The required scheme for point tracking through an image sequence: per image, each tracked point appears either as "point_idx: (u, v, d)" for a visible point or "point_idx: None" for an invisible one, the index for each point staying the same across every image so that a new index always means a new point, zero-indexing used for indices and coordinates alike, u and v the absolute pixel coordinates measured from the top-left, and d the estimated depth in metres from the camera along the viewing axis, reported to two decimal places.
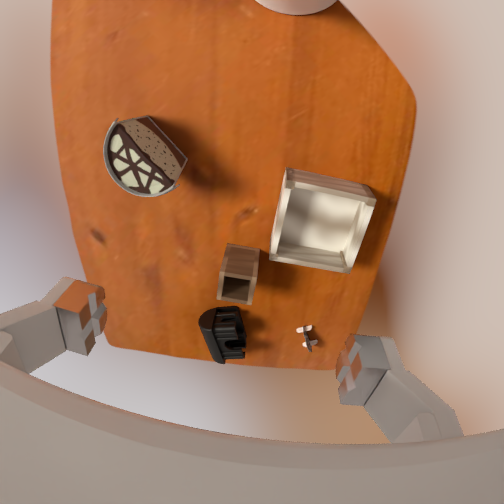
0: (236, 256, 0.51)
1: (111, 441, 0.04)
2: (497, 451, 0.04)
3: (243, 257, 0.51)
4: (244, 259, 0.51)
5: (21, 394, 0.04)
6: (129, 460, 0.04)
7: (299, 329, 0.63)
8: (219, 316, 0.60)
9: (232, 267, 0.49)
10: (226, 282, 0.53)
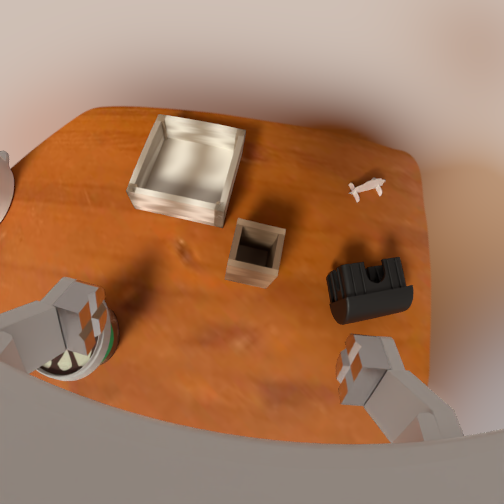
0: None
1: (111, 441, 0.04)
2: (497, 451, 0.04)
3: None
4: None
5: (21, 394, 0.04)
6: (129, 460, 0.04)
7: (356, 198, 0.48)
8: (336, 295, 0.41)
9: None
10: None
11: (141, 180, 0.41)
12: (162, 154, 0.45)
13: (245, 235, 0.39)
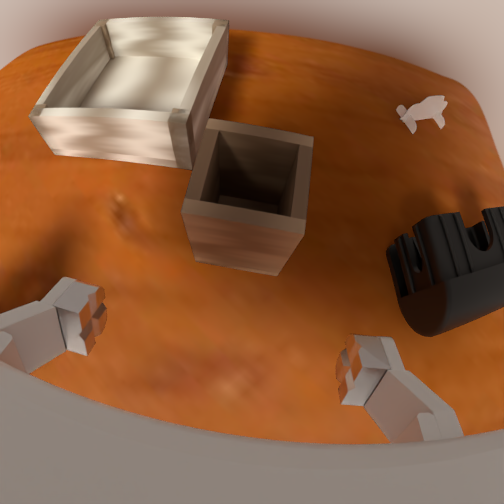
0: None
1: (111, 441, 0.04)
2: (497, 451, 0.04)
3: None
4: None
5: (21, 394, 0.04)
6: (129, 460, 0.04)
7: (411, 127, 0.27)
8: (412, 280, 0.20)
9: None
10: None
11: (61, 104, 0.21)
12: (103, 76, 0.25)
13: (229, 164, 0.18)
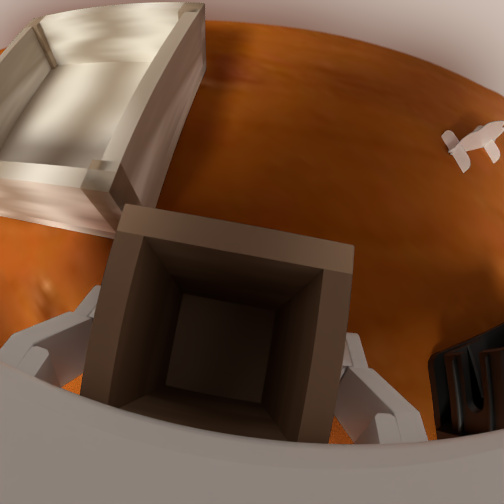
0: None
1: (111, 441, 0.04)
2: (497, 451, 0.04)
3: None
4: None
5: (21, 394, 0.04)
6: (129, 460, 0.04)
7: (462, 163, 0.18)
8: (462, 416, 0.11)
9: None
10: (273, 410, 0.09)
11: None
12: (39, 94, 0.17)
13: (185, 273, 0.10)
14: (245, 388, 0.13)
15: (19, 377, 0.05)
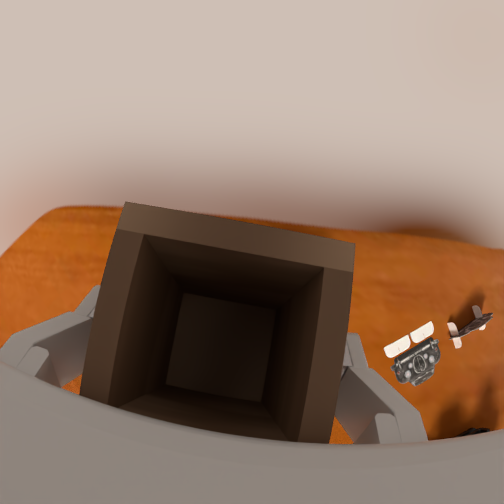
0: None
1: (111, 441, 0.04)
2: (497, 451, 0.04)
3: None
4: None
5: (21, 394, 0.04)
6: (129, 460, 0.04)
7: (456, 343, 0.29)
8: None
9: None
10: (273, 409, 0.09)
11: None
12: None
13: (185, 272, 0.10)
14: (245, 387, 0.13)
15: (19, 377, 0.05)
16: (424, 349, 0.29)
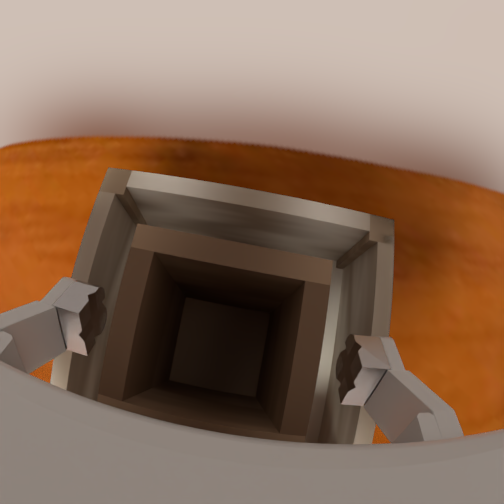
0: None
1: (111, 441, 0.04)
2: (497, 451, 0.04)
3: None
4: None
5: (21, 394, 0.04)
6: (129, 460, 0.04)
7: None
8: None
9: None
10: (265, 402, 0.11)
11: (85, 395, 0.12)
12: None
13: (188, 281, 0.11)
14: (241, 383, 0.14)
15: (19, 377, 0.05)
16: None
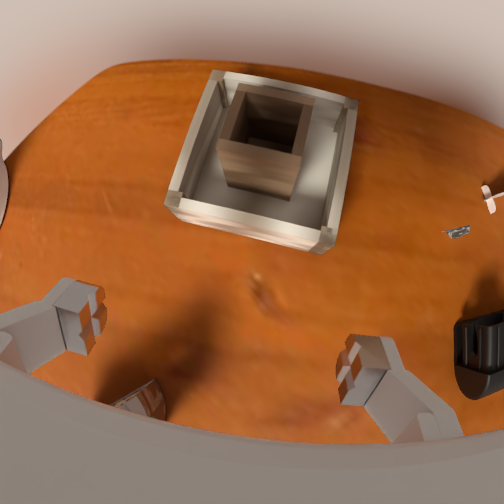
0: None
1: (111, 441, 0.04)
2: (497, 451, 0.04)
3: None
4: None
5: (21, 394, 0.04)
6: (129, 460, 0.04)
7: (490, 207, 0.28)
8: (468, 357, 0.24)
9: None
10: None
11: (190, 180, 0.26)
12: None
13: (254, 115, 0.24)
14: None
15: (19, 377, 0.05)
16: None
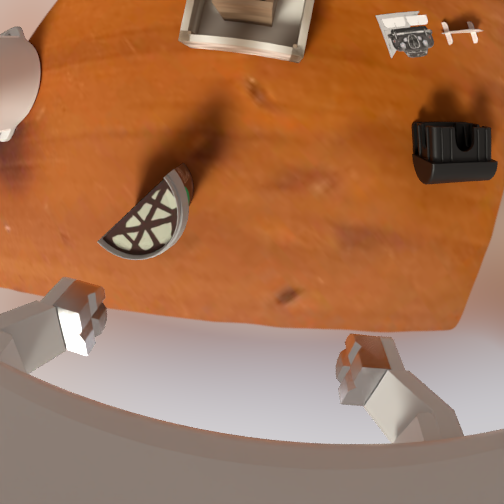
0: None
1: (111, 441, 0.04)
2: (497, 451, 0.04)
3: None
4: None
5: (21, 394, 0.04)
6: (129, 460, 0.04)
7: (449, 40, 0.28)
8: (421, 150, 0.33)
9: None
10: None
11: (195, 20, 0.28)
12: None
13: None
14: None
15: (19, 377, 0.05)
16: (418, 32, 0.29)
